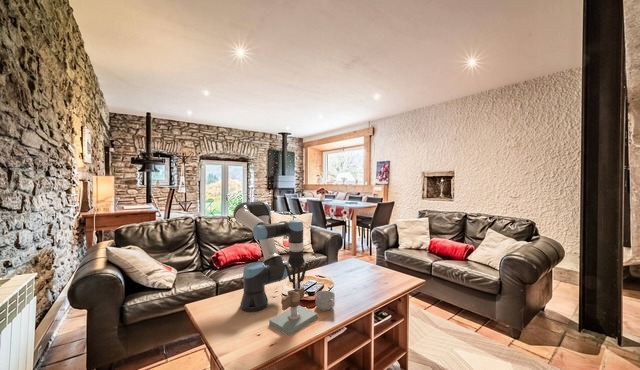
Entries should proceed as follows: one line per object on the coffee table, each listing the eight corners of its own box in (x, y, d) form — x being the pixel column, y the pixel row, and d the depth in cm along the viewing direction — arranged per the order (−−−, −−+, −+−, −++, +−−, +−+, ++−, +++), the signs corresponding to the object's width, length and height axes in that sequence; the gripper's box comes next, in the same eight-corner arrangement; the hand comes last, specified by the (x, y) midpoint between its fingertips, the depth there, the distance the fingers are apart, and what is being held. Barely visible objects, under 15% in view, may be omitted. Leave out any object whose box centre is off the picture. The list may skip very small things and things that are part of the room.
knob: (307, 298, 138) (307, 286, 138) (288, 313, 123) (288, 300, 123) (298, 296, 141) (298, 284, 141) (278, 310, 126) (278, 297, 126)
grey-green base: (269, 324, 129) (269, 307, 129) (298, 309, 144) (298, 294, 144) (288, 335, 120) (288, 317, 120) (317, 318, 135) (317, 301, 135)
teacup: (312, 305, 149) (312, 291, 149) (330, 302, 153) (330, 288, 153) (321, 317, 136) (321, 302, 136) (340, 313, 140) (340, 298, 140)
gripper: (283, 252, 133) (284, 298, 133) (309, 251, 135) (309, 296, 136) (283, 248, 140) (283, 292, 141) (307, 247, 142) (307, 290, 143)
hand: (296, 294), depth 138 cm, fingers closed
